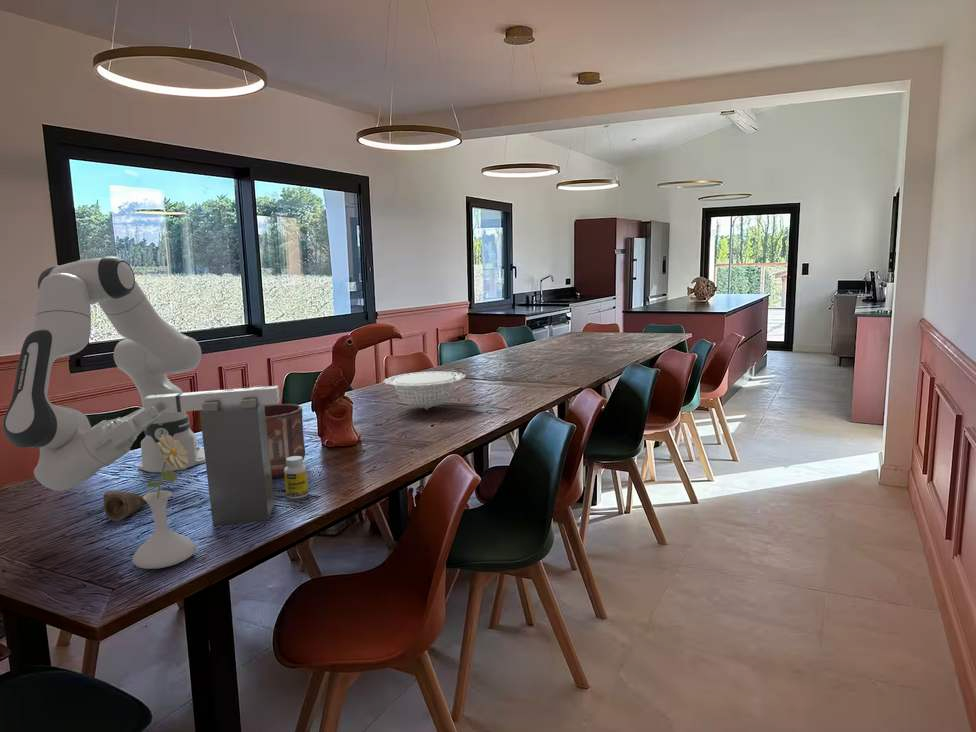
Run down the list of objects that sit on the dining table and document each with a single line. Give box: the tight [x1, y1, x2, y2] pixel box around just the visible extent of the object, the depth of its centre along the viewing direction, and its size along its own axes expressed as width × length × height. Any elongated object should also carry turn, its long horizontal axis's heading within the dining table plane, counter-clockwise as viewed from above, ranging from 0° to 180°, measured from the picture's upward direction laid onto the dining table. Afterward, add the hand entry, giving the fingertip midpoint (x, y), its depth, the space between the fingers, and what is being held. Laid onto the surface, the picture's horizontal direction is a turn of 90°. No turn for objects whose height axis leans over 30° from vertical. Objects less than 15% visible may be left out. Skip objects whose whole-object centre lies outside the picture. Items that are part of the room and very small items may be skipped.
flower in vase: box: [131, 434, 197, 570], centre depth 129 cm, size 13×11×25 cm
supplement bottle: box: [284, 456, 309, 500], centre depth 165 cm, size 5×5×10 cm
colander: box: [382, 370, 467, 411], centre depth 256 cm, size 32×32×13 cm
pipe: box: [102, 490, 148, 521], centre depth 160 cm, size 6×17×10 cm
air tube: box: [143, 385, 281, 414], centre depth 149 cm, size 4×28×4 cm, turn 101°
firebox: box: [199, 398, 275, 527], centre depth 152 cm, size 10×12×28 cm
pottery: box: [264, 403, 306, 479], centre depth 184 cm, size 18×18×18 cm
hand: (163, 405), depth 147 cm, fingers open, 8 cm apart
